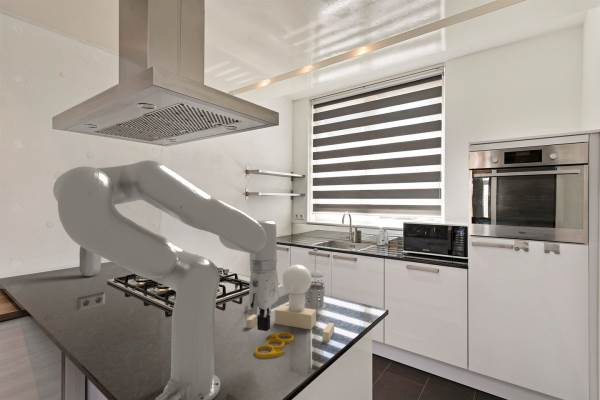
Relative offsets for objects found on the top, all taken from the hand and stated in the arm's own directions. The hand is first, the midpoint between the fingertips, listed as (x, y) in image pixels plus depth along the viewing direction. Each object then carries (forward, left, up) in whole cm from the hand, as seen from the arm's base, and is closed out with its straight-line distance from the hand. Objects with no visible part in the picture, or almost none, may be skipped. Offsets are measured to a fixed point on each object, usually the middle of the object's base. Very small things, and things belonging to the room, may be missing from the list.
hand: (263, 329), depth 84 cm
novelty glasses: (+9, 0, -10) cm, 13 cm away
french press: (+48, -2, -9) cm, 49 cm away
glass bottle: (+48, +134, -9) cm, 143 cm away
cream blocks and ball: (+26, 0, -9) cm, 27 cm away
